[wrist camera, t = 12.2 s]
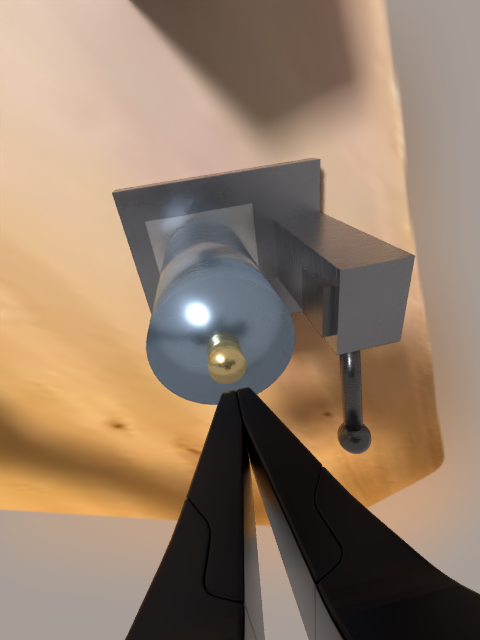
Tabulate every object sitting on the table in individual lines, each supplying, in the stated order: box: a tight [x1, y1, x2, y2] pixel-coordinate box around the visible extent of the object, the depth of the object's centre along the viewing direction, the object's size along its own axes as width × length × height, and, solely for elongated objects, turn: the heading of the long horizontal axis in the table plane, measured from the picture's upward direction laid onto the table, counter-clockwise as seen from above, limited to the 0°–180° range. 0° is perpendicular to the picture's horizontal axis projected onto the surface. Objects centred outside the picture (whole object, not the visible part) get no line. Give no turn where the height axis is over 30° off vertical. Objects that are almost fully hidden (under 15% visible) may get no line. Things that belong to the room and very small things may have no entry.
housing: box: [146, 221, 295, 405], centre depth 14 cm, size 5×5×11 cm
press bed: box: [112, 158, 415, 454], centre depth 17 cm, size 12×14×11 cm
